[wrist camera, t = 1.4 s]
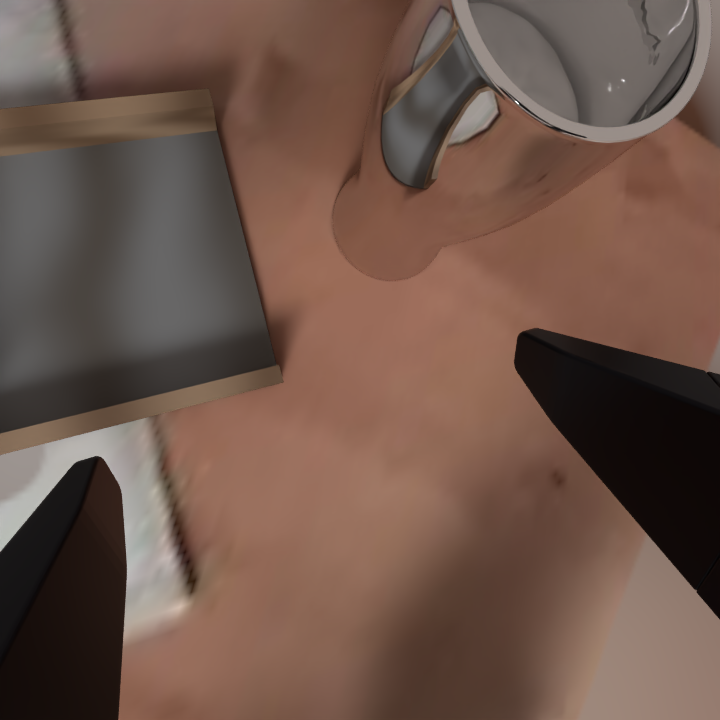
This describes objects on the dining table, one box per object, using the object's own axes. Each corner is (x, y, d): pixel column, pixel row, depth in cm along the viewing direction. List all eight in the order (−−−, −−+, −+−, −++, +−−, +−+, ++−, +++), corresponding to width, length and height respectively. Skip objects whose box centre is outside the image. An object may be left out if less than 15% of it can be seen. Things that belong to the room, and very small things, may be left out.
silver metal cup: (333, 296, 23) (466, 154, 9) (314, 163, 23) (414, -196, 9) (456, 283, 25) (742, 146, 10) (438, 159, 25) (696, -151, 10)
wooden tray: (213, 119, 22) (205, 63, 18) (280, 382, 23) (286, 382, 19) (-108, 155, 19) (-199, 98, 15) (-28, 460, 19) (-98, 480, 16)
